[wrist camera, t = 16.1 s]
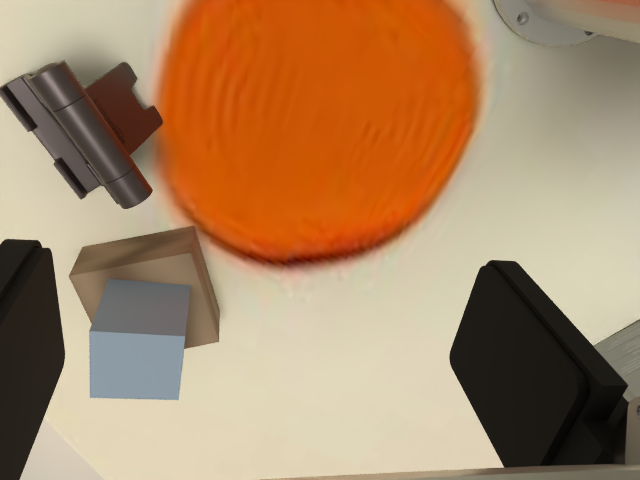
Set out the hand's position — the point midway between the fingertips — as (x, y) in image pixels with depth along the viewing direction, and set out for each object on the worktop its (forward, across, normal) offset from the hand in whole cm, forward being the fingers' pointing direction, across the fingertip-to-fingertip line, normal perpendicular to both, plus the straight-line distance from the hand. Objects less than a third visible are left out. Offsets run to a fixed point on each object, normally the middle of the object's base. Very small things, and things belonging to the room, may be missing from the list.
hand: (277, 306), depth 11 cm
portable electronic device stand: (+29, +10, +5) cm, 31 cm away
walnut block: (+29, +6, +19) cm, 35 cm away
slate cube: (+24, +6, +19) cm, 31 cm away
